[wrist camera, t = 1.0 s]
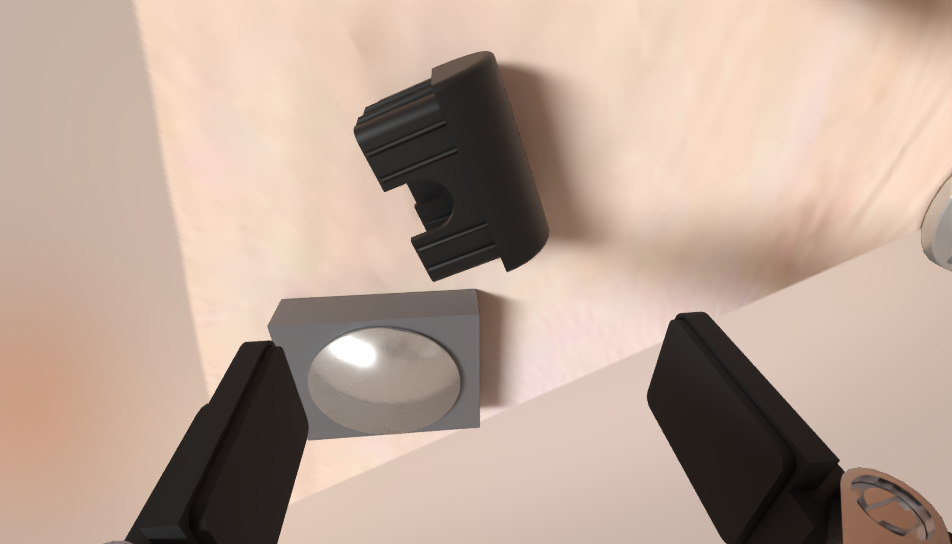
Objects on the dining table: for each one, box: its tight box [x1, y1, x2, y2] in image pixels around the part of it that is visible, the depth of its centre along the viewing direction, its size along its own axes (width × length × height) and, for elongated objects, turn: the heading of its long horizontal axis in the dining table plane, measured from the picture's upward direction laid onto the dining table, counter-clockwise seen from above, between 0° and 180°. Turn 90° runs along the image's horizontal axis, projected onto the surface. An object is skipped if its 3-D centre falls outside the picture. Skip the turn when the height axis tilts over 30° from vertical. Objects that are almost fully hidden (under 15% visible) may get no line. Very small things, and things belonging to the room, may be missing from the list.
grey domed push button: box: [267, 289, 480, 440], centre depth 32 cm, size 14×12×3 cm
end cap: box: [354, 51, 549, 282], centre depth 22 cm, size 10×7×7 cm
